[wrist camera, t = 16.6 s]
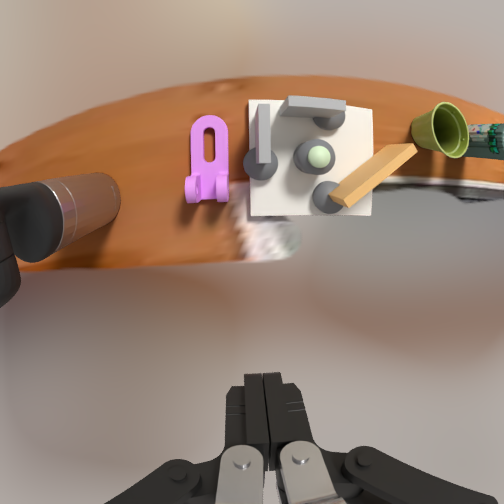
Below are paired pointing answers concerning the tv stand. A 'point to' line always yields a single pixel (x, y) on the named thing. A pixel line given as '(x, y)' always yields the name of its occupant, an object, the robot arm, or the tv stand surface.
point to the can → (486, 141)
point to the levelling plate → (302, 185)
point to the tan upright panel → (361, 179)
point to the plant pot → (442, 130)
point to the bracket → (208, 174)
